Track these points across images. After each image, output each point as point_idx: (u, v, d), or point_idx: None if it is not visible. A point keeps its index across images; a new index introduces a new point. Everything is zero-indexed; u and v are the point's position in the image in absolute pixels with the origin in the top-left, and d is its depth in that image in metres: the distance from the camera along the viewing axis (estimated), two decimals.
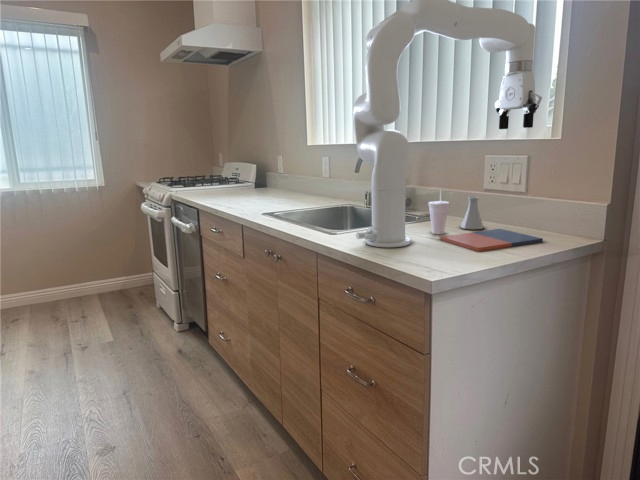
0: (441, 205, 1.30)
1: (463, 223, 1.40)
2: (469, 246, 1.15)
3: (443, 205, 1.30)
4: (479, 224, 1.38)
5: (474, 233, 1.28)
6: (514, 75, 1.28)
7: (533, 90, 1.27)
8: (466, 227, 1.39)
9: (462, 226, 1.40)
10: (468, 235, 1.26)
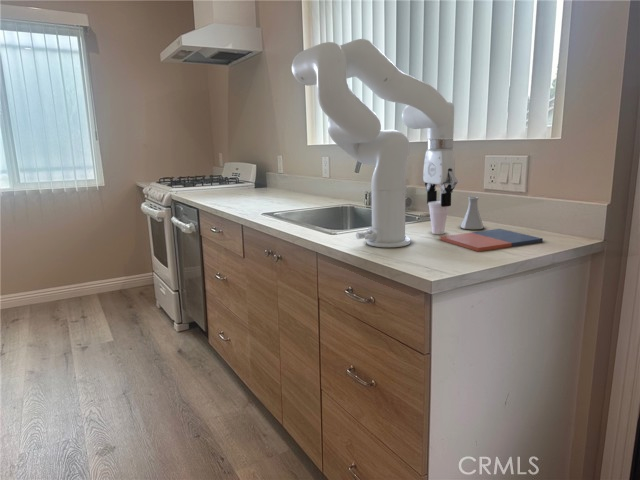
0: None
1: (463, 223, 1.40)
2: (469, 246, 1.15)
3: None
4: (479, 224, 1.38)
5: (474, 233, 1.28)
6: (434, 152, 1.28)
7: (453, 168, 1.27)
8: (466, 227, 1.39)
9: (462, 226, 1.40)
10: (468, 235, 1.26)
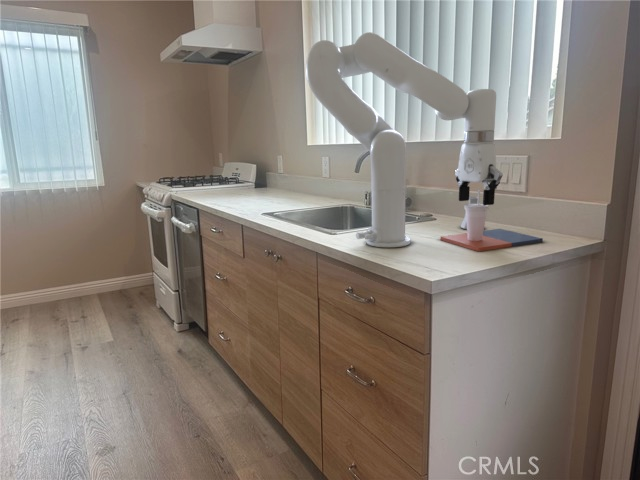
0: (480, 208, 1.15)
1: (463, 223, 1.40)
2: (469, 246, 1.15)
3: (482, 208, 1.16)
4: None
5: None
6: (473, 146, 1.13)
7: (494, 164, 1.12)
8: (466, 227, 1.39)
9: (462, 226, 1.40)
10: None
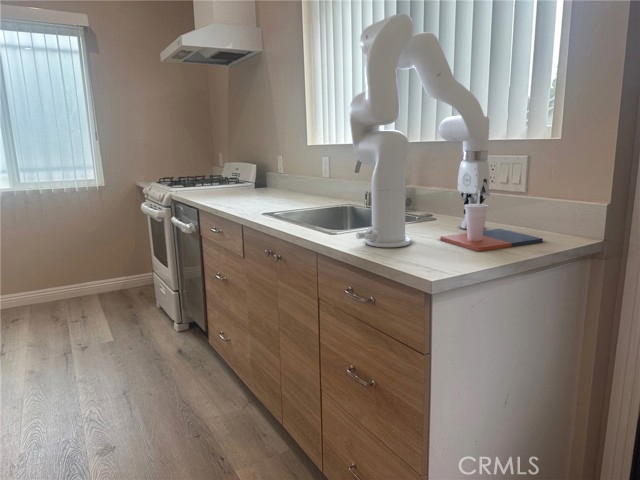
0: (480, 208, 1.15)
1: (463, 223, 1.40)
2: (469, 246, 1.15)
3: (482, 208, 1.16)
4: None
5: None
6: (470, 163, 1.34)
7: (488, 178, 1.33)
8: (466, 227, 1.39)
9: (462, 226, 1.40)
10: None
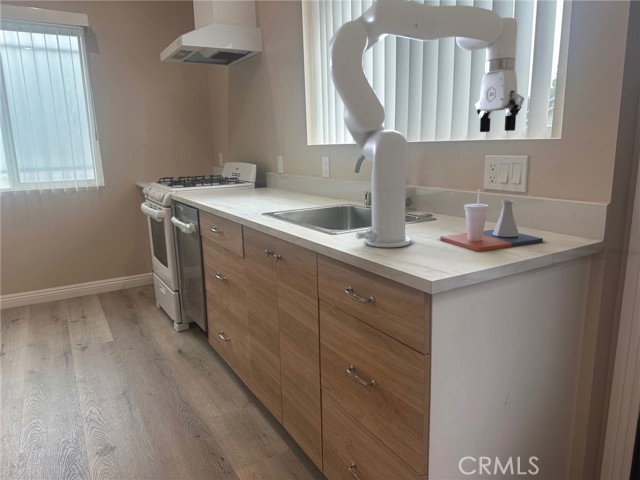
0: (480, 208, 1.15)
1: (496, 230, 1.24)
2: (469, 246, 1.15)
3: (482, 208, 1.16)
4: (514, 231, 1.21)
5: None
6: (495, 74, 1.18)
7: (515, 90, 1.17)
8: (499, 235, 1.22)
9: (494, 233, 1.24)
10: None
